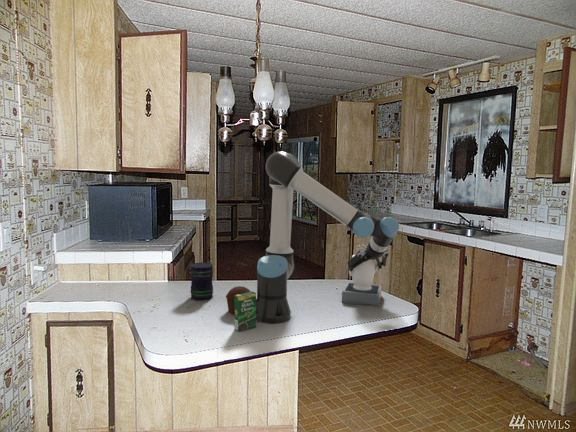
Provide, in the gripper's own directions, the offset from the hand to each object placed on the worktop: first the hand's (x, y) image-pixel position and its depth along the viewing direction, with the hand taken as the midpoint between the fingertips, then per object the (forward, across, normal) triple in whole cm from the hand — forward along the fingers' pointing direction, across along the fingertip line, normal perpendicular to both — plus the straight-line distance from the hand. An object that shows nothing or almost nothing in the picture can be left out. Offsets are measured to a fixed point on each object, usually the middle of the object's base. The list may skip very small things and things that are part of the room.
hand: (361, 273), depth 189 cm
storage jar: (+16, -71, 0) cm, 73 cm away
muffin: (+1, -57, -15) cm, 59 cm away
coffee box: (-12, -57, -28) cm, 65 cm away
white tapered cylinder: (+3, 0, -6) cm, 7 cm away
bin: (+6, 0, -10) cm, 12 cm away
